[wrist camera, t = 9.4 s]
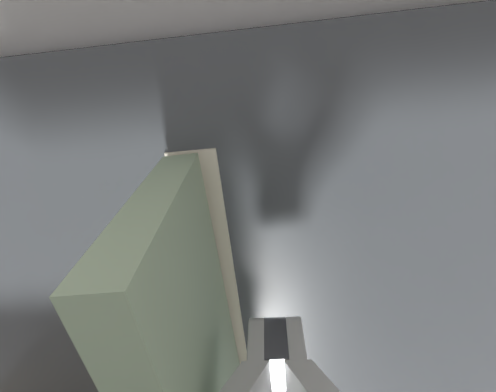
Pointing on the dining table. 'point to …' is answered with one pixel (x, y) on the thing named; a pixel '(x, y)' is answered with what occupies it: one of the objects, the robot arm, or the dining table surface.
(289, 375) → the robot arm
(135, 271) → the folding panel
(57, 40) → the dining table surface
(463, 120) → the board
